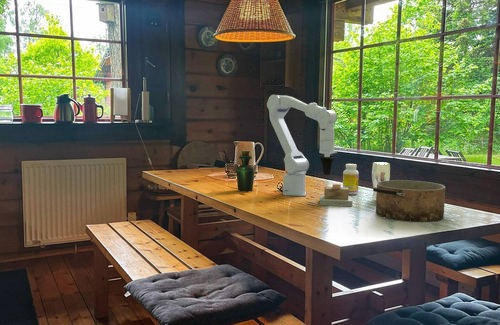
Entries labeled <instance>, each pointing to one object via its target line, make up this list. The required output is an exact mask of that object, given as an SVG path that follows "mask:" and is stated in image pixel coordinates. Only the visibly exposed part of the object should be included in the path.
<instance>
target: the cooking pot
mask: <svg viewBox="0 0 500 325" xmlns="http://www.w3.org/2000/svg"><path fill="white" fill-rule="evenodd" d="M372 191H375V192H377V193H376V201H375V213H376V214H377V215H378V216H379V217H381V218H384V217H385V218H384V219H388V218H389V220H392V219H393V221H399V222H409V223H432V222H433V221H434V222H439V221H441V220H443V219H444V216H445V204H446V202H445V200H446V184H443V183H437V182H431V181H421V180H408V179H406V180H404V179H400V180H399V179H395V180H394V179H391V180H390V179H389V180H388V181H380V182H378V183H377V188H372ZM438 220H439V221H438ZM434 222H433V223H434Z"/></svg>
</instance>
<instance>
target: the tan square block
mask: <svg viewBox="0 0 500 325" xmlns="http://www.w3.org/2000/svg"><path fill="white" fill-rule="evenodd" d="M331 187H332V188H334V189H341V187H342V185H341V183H339V182H337V183H336V182H334V183H332V186H331Z"/></svg>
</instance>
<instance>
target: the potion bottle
mask: <svg viewBox="0 0 500 325" xmlns="http://www.w3.org/2000/svg"><path fill="white" fill-rule="evenodd" d="M240 151H241V155H239V156H238V159H240V161H241V164H240V165H239V166H237V167H236V169H235V170H236V181H237V182H236V184H237V190H240V191H251V192H253V190H254V189H253V188H254V179H255V168H254V167H253V166H252V165H250V160H251V159H253V156H252V155H251V154H250V151H251V150H248V149H242V150H240ZM240 191H239V192H240Z"/></svg>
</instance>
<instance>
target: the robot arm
mask: <svg viewBox="0 0 500 325" xmlns="http://www.w3.org/2000/svg"><path fill="white" fill-rule="evenodd" d="M266 107H267V109H268V112H269V120H270V123H271V126H272V127H273V129H274V131H275V134H276V136H277V138H278V141H279V142H280V145H281V147H282V149H283V152H284V154H285V156H284V158H283V163H284V168H285V172H287V173H284V174H283V178H282V179H283V180H282V182H283V183H282V184H283V186H282V195H283V196H293V197H294V196H296V197H302V196H303V197H305V196H307V192H306V174H307V171H308V170H309V168H310V162H309V160H308V159H307V158H306V157H305V156H304V154H303V152H301V151H300V150H298V148H297V146H296V143H295V141H294V139H293V137H292V135H291V133H290V130H289V128H288V126H287V124H286V121H285V118H284V117H285V116H286V115H287V113H288V112H289V110H290V109H291V108H292V109H296V110H299V111H302V112H304V115H305V117H308V118H310V119H312V120H315V121H316V122H318V124H319V151H318V152H319V154H322V155H319V159H320V162H321V165H322V169H323V170H322V171H323V175H324V176H325V175H326V176H329V175H330V173H331V170H332V169H331V168H332V164H333V163H334V162H333V161H334V159H335V156H334V154H338V151H337V150H335V123H336V122H337V121H338V114H337V112H336V111H334V110H333V109H328V110H327V107H325V106H319V105H318V103H316V102H310V103H308V104H307V103H305V102H304V101H301V100H299V99H297V98H295V97H293V96H289V95H287V94H286V95H279V94H271V95H270V96H269V98H268V100H267V102H266Z"/></svg>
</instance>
